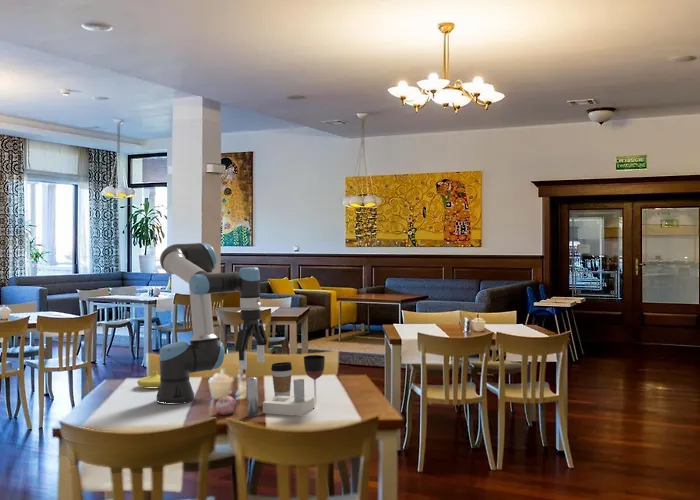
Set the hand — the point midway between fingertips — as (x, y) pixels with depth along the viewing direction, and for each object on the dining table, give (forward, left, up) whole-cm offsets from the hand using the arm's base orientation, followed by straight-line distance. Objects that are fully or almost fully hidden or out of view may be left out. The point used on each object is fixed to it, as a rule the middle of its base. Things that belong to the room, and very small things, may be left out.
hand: (252, 365), depth 263 cm
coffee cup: (-1, +25, -19) cm, 31 cm away
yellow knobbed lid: (-68, +32, -19) cm, 77 cm away
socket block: (+10, +10, -19) cm, 23 cm away
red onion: (-11, -1, -19) cm, 22 cm away
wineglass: (+18, +17, -19) cm, 31 cm away
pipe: (0, 0, -19) cm, 19 cm away
